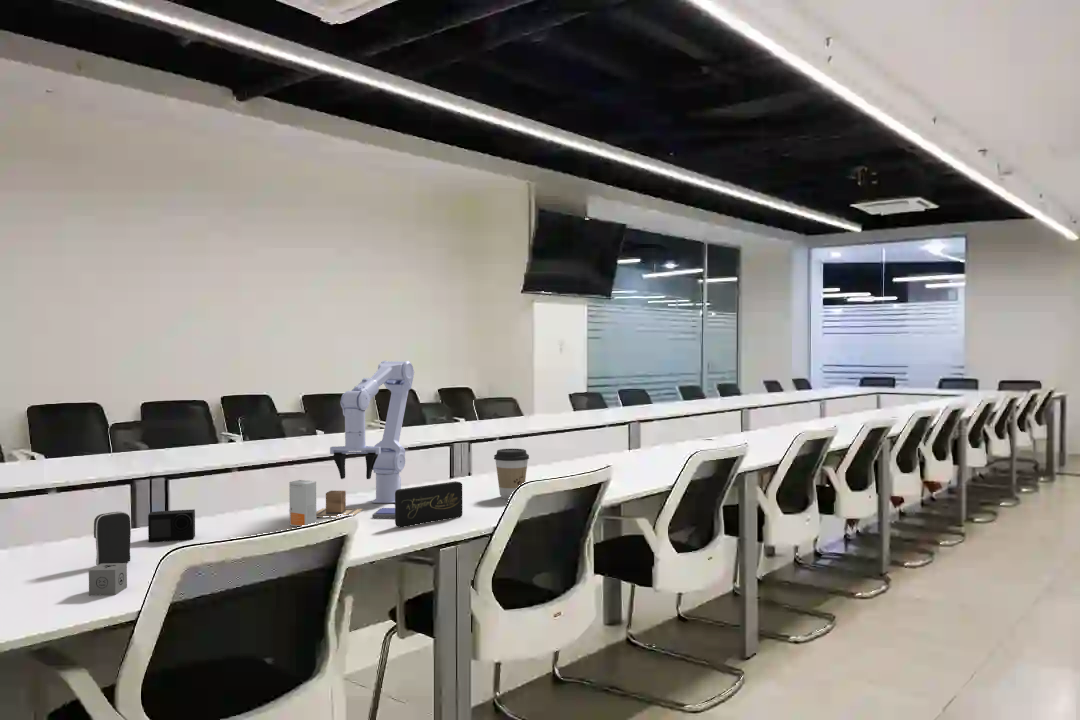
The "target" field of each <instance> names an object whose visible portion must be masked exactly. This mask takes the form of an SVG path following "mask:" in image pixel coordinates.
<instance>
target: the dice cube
mask: <svg viewBox="0 0 1080 720" xmlns="http://www.w3.org/2000/svg"><path fill="white" fill-rule="evenodd" d="M127 588H128V562H126V563H103V564H99V565H98V566H97V565H95V566H94V567H92V568H90V569H89V570H88V596H91V597H92V596H117V595H118V594H119V593H121V592H122V591H124V590H126V589H127Z"/></svg>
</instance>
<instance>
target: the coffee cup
mask: <svg viewBox="0 0 1080 720" xmlns="http://www.w3.org/2000/svg"><path fill="white" fill-rule="evenodd" d="M493 457H494V458H493V459H494V460H495V466H496V475H497V481H498V483H497V484H498V490H499V496H500V498H501V499H502V498H504V500H509V499H508V498H509V497H510V495H511V494H512V492H513V491H514V490H515V489H516V488H517V487H518V486H519V485H521V484H522V483H524V482H525V483H526V479H527V478H526V477H527V468H528V461H529V459H530V455H529V453H527V450H526V449H524V448H500V449H497V450H496V454H494V455H493Z"/></svg>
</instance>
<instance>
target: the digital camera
mask: <svg viewBox="0 0 1080 720" xmlns="http://www.w3.org/2000/svg"><path fill="white" fill-rule="evenodd" d="M147 526H148V527H147V531H148V538H147V539H148V540H147V541H148V542H147V543H163V541H164V542H176V541H178V540H179V541H191V540H192V541H193V540H194V539H195V537H196V509H195V508H194V509H177V510H173V509H172V510H160V511H159V510H158V511H150V512H149V513H148V514H147Z"/></svg>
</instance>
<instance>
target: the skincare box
mask: <svg viewBox="0 0 1080 720" xmlns="http://www.w3.org/2000/svg"><path fill="white" fill-rule="evenodd" d="M288 485H289V488H288V489H289V491H288V492H289V495H288V496H289V526H290V525H291V526H290V527H297V526H302V525H308V524H311V523H315V522H316V523H317V518H316V512H317V481H313V480H305V479H304V480H303V479H297V480H291V481H289V483H288ZM297 528H298V527H297Z"/></svg>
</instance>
